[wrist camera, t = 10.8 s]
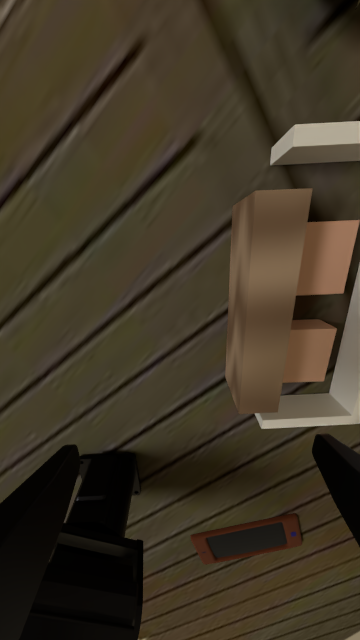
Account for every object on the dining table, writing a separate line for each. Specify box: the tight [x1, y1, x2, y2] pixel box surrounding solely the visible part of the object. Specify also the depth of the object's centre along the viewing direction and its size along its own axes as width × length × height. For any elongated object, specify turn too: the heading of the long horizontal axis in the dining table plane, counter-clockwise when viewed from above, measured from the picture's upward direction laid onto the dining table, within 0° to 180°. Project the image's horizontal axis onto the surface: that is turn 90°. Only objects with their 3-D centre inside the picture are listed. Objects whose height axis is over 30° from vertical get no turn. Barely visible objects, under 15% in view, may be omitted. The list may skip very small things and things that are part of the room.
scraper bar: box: [225, 188, 312, 414], centre depth 16 cm, size 15×3×5 cm, turn 2°
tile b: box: [296, 220, 360, 296], centre depth 16 cm, size 5×5×2 cm
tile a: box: [283, 319, 337, 383], centre depth 19 cm, size 5×5×2 cm
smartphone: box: [191, 513, 302, 564], centre depth 30 cm, size 7×1×15 cm
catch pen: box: [255, 121, 360, 429], centre depth 17 cm, size 22×9×3 cm, turn 3°
